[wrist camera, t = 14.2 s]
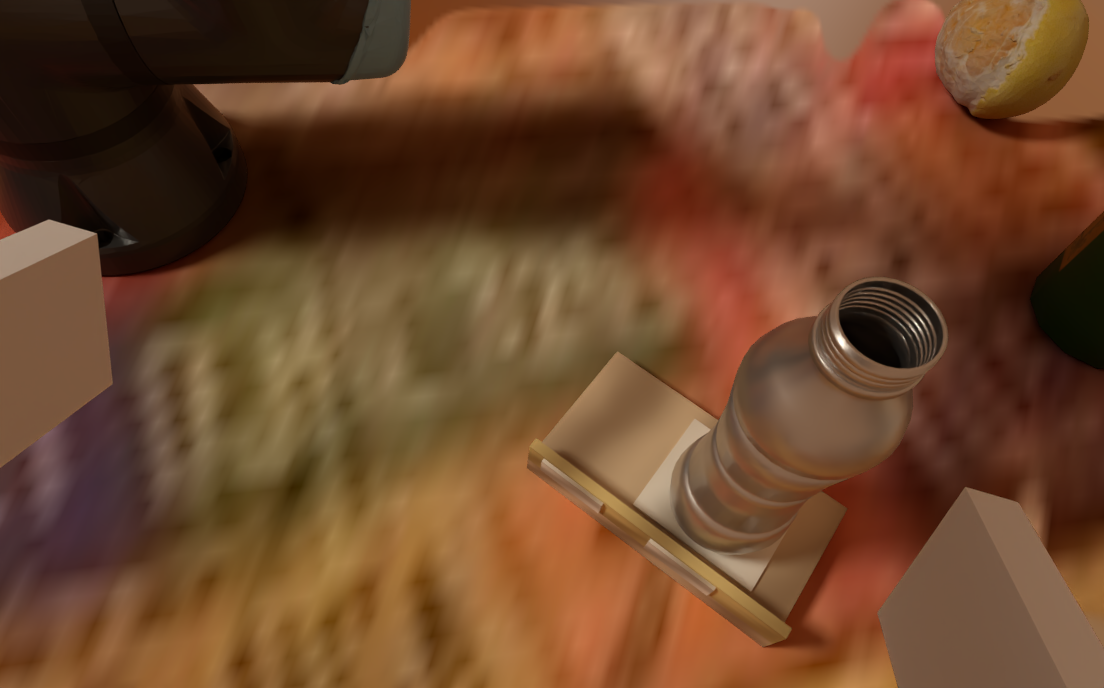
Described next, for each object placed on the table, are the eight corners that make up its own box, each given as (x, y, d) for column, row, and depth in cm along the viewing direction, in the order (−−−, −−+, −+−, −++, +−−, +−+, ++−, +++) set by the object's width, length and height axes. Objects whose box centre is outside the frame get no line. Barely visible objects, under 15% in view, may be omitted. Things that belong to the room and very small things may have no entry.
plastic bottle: (798, 544, 39) (1040, 386, 22) (685, 580, 38) (847, 441, 21) (749, 438, 42) (929, 223, 25) (643, 468, 41) (753, 262, 23)
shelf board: (525, 470, 42) (527, 448, 39) (613, 362, 46) (622, 335, 43) (761, 650, 38) (784, 642, 35) (836, 516, 42) (863, 498, 39)
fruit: (984, 48, 64) (1060, -62, 56) (1055, 134, 59) (1151, 29, 51) (884, 63, 62) (948, -48, 54) (950, 154, 57) (1032, 48, 49)
